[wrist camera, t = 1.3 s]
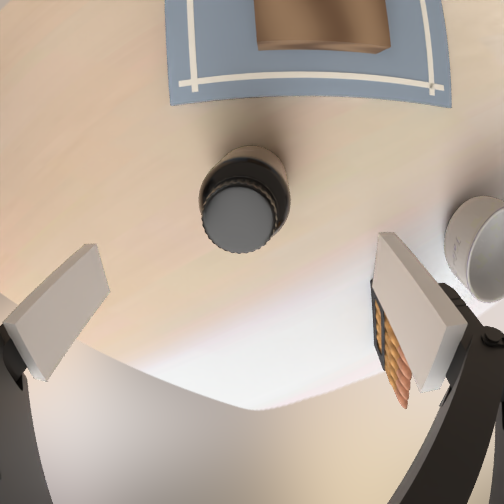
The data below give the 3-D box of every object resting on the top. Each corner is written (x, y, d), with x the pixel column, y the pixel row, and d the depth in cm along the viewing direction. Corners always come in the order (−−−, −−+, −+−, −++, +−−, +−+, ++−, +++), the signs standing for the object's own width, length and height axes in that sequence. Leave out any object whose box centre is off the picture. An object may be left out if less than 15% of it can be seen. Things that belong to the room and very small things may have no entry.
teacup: (418, 226, 31) (452, 258, 24) (480, 167, 28) (523, 185, 20) (462, 297, 35) (490, 333, 28) (514, 247, 31) (548, 274, 24)
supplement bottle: (243, 130, 28) (227, 141, 17) (300, 172, 30) (318, 210, 19) (203, 185, 31) (167, 229, 20) (257, 224, 32) (251, 286, 21)
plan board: (173, 105, 27) (170, 105, 26) (167, -56, 19) (164, -60, 18) (446, 107, 25) (452, 108, 24) (424, -48, 17) (428, -51, 16)
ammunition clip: (386, 342, 38) (413, 410, 27) (374, 345, 39) (397, 415, 28) (384, 276, 34) (423, 344, 23) (370, 279, 34) (404, 349, 24)
